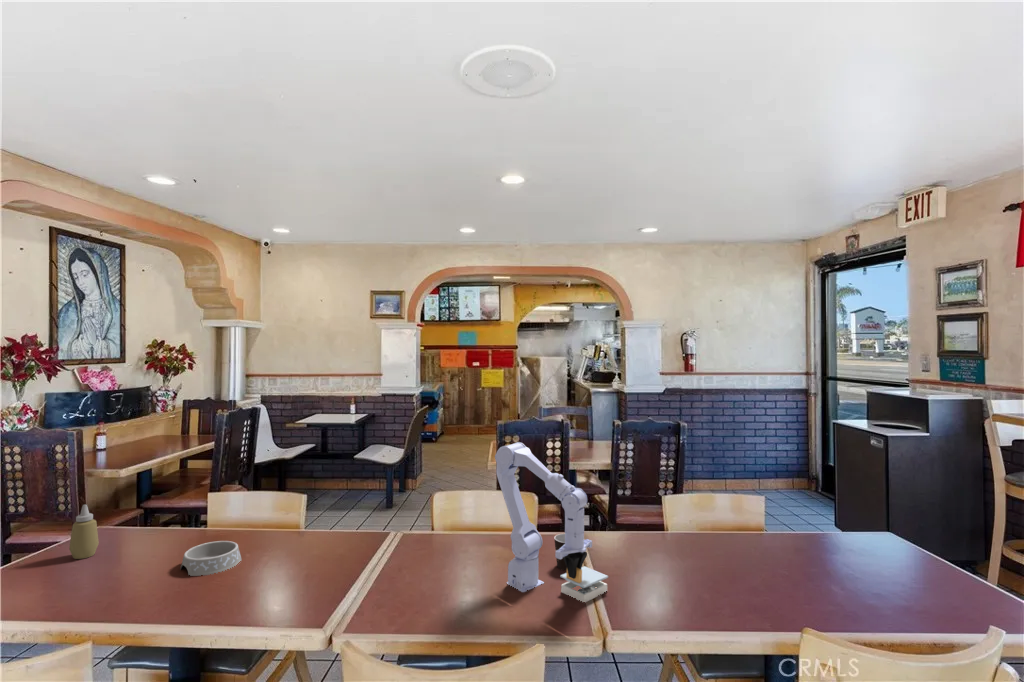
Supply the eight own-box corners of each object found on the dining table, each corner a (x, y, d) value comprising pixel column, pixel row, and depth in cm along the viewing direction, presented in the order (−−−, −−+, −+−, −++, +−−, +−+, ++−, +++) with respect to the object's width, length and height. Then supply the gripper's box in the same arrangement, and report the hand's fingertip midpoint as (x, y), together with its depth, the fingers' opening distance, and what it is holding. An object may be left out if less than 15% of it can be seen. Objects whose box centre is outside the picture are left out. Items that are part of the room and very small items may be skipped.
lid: (584, 590, 152) (584, 573, 152) (560, 579, 158) (560, 563, 159) (608, 580, 159) (608, 564, 159) (584, 570, 166) (584, 554, 166)
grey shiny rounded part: (588, 590, 159) (588, 587, 159) (579, 588, 161) (579, 585, 161) (592, 586, 162) (592, 583, 162) (582, 584, 164) (582, 581, 164)
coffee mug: (571, 575, 171) (571, 545, 171) (549, 568, 176) (549, 538, 176) (588, 563, 180) (588, 535, 180) (566, 557, 185) (567, 529, 185)
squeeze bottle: (85, 561, 179) (86, 508, 179) (62, 560, 179) (63, 508, 179) (104, 551, 187) (105, 501, 187) (82, 551, 187) (83, 501, 187)
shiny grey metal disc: (582, 598, 155) (582, 595, 155) (575, 594, 157) (575, 590, 157) (590, 595, 156) (590, 592, 156) (582, 591, 159) (582, 588, 159)
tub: (584, 604, 152) (584, 595, 152) (561, 593, 158) (561, 584, 159) (607, 592, 159) (607, 584, 159) (584, 582, 166) (584, 574, 166)
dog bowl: (195, 581, 165) (196, 564, 165) (172, 566, 176) (172, 550, 176) (249, 563, 179) (250, 547, 179) (224, 550, 190) (225, 535, 190)
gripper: (568, 540, 148) (567, 588, 148) (600, 529, 158) (599, 573, 158) (550, 533, 153) (549, 580, 153) (582, 523, 163) (581, 566, 163)
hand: (574, 576), depth 156 cm, fingers closed on lid
